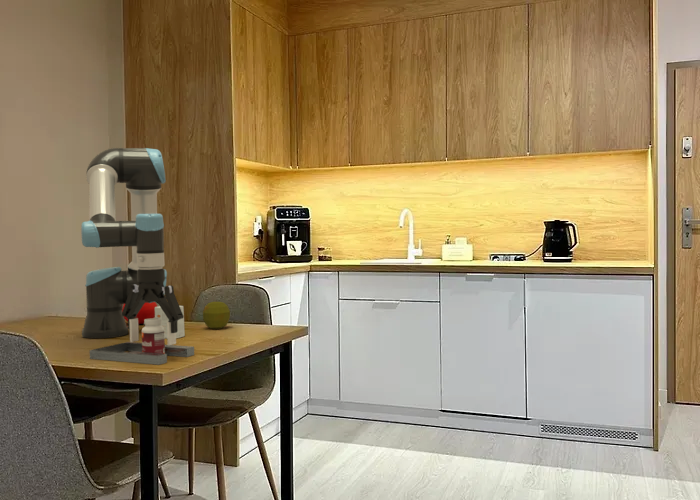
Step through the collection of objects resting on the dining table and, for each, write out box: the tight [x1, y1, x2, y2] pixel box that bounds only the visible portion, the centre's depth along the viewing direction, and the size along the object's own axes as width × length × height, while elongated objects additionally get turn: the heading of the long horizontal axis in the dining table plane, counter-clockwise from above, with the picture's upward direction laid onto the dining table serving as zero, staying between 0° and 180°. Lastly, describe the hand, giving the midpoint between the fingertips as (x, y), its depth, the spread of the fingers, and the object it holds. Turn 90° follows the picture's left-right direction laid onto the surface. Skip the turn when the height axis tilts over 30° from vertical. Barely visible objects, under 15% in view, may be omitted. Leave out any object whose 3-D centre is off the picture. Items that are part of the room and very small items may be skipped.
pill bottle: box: [141, 317, 166, 354], centre depth 194 cm, size 6×6×11 cm
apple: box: [202, 301, 231, 330], centre depth 249 cm, size 10×10×11 cm
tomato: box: [122, 302, 158, 325], centre depth 266 cm, size 12×13×11 cm
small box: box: [154, 305, 185, 339], centre depth 231 cm, size 8×6×10 cm
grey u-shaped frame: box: [89, 341, 195, 366], centre depth 196 cm, size 25×15×2 cm, turn 65°
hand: (152, 342), depth 195 cm, fingers open, 13 cm apart
